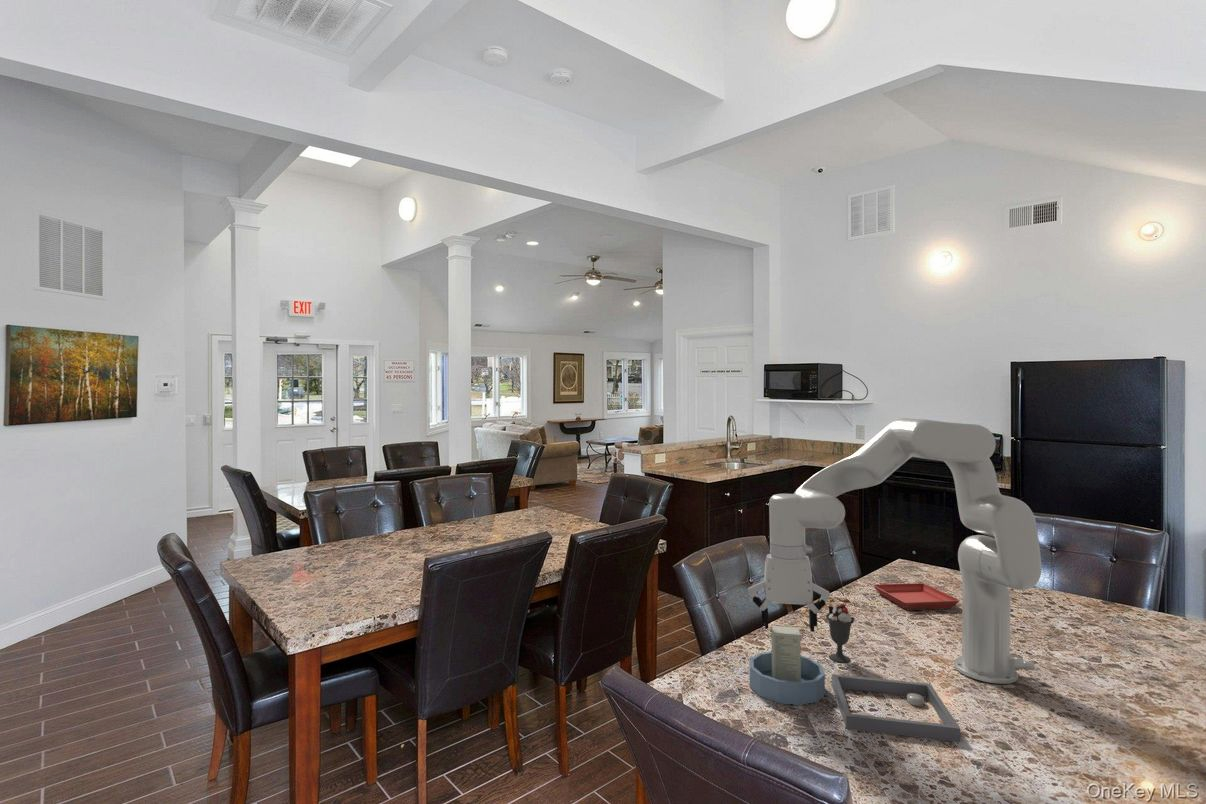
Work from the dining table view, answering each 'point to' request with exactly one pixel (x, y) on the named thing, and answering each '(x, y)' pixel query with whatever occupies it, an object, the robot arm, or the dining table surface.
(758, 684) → the bowl
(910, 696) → the pebble
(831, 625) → the sundae
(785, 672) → the skincare box
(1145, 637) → the dining table surface
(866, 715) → the pebble
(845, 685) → the gray rectangular frame
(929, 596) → the plant saucer
